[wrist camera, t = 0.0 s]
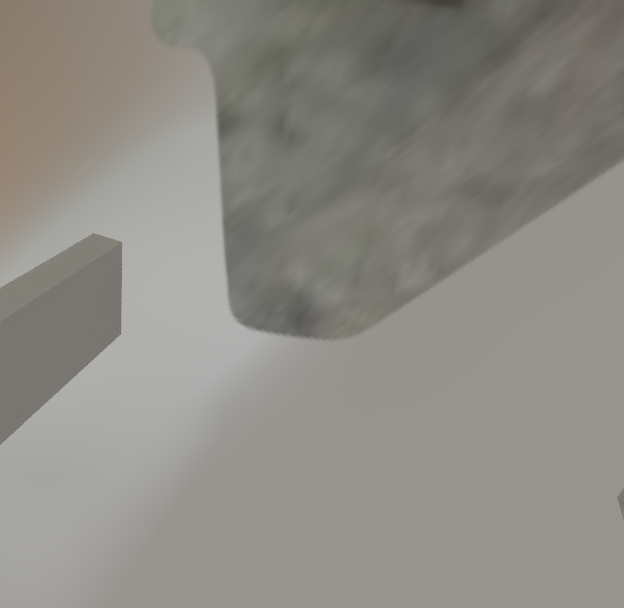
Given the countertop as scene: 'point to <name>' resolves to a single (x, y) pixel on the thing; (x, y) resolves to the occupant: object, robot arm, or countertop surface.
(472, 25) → the countertop surface
